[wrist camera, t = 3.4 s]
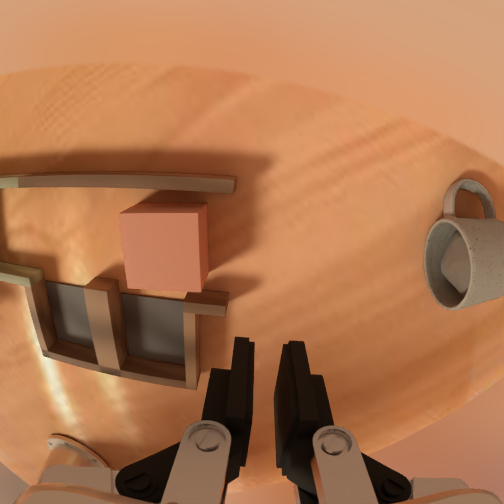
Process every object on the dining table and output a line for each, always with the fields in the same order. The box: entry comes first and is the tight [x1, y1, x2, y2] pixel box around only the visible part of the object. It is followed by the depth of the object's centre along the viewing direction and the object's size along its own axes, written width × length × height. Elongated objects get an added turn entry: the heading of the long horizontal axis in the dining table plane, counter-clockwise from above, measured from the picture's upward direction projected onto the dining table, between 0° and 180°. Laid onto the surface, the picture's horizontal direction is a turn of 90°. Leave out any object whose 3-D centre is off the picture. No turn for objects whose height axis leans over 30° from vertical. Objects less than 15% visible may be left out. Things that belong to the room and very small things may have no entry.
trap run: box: [0, 171, 236, 390], centre depth 26 cm, size 20×28×2 cm
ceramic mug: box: [424, 178, 504, 311], centre depth 21 cm, size 11×8×8 cm
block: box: [119, 203, 209, 292], centre depth 24 cm, size 6×6×4 cm
